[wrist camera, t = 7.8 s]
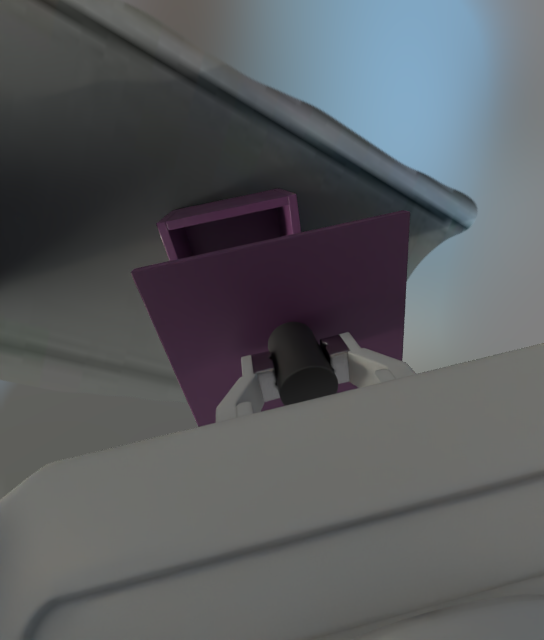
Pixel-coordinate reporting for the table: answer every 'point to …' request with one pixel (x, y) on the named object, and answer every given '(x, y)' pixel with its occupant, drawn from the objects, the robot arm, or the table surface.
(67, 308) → the table surface
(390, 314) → the lid
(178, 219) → the box
